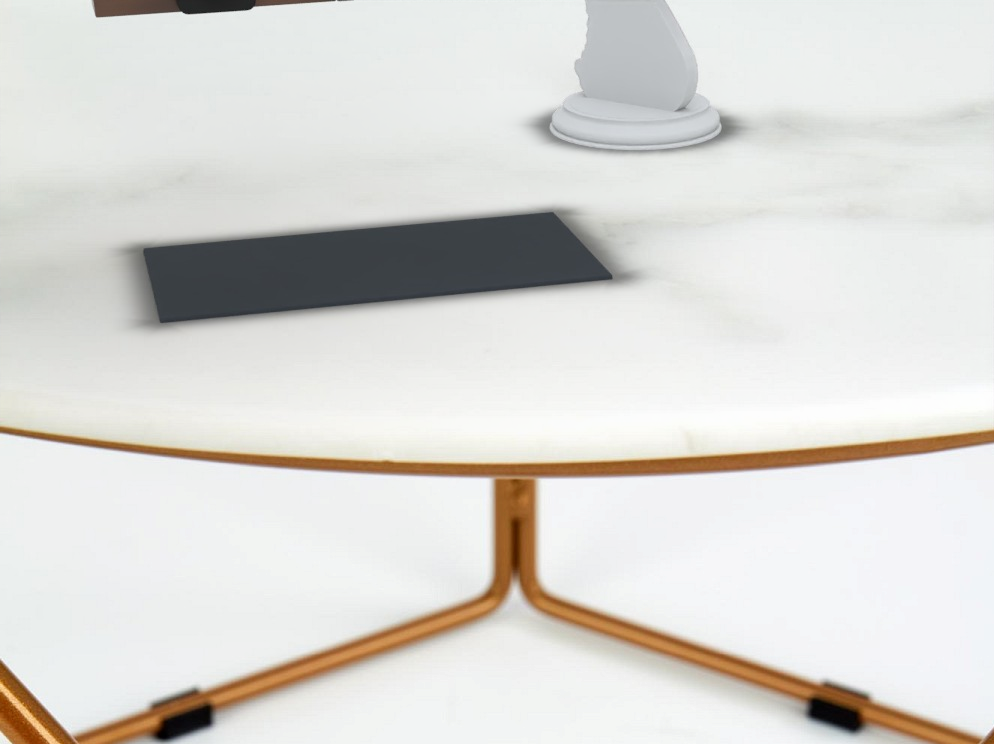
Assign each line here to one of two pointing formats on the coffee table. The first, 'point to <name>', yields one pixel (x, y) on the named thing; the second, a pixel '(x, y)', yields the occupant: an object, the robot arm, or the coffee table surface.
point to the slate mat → (366, 266)
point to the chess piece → (635, 82)
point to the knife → (165, 6)
